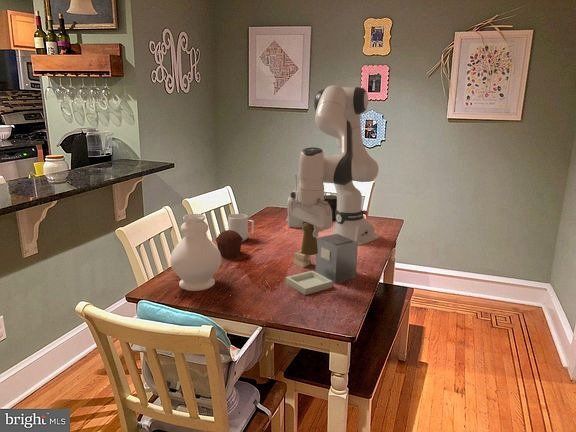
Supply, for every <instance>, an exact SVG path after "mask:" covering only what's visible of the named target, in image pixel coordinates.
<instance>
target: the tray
mask: <svg viewBox="0 0 576 432" xmlns="http://www.w3.org/2000/svg"><path fill="white" fill-rule="evenodd" d="M333 283H334V282H333V281H331V280H329V279H328V278H326V277H324V276H322V275H320V274H318V273H316V272H315V271H314V270H310V271H309V270H308V271H305V272H300V273H297V274H293V275H289V276H286V277H285V284H286V285H288V286H289V287H291V288H292V289H295V290H297V291H298V292H300V293H301V294H303V295H304V296H306V295H310V294H313V293H317V292H320V291H324V290H328V289H330V288H333Z"/></svg>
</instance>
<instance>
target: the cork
mask: <svg viewBox="0 0 576 432" xmlns="http://www.w3.org/2000/svg"><path fill="white" fill-rule="evenodd" d="M303 230H304V233H303V234H302V235H303V236H302V242H301V249H300V250H301V253H302V254H305V255H311V256H313V255H314V256H316V254H317V253H318V248H317V239H316V238H317V237H316V238H314V237H312V232H313V231H314V228H313V225H312V224H309V223H307V222H304V224H303Z"/></svg>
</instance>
